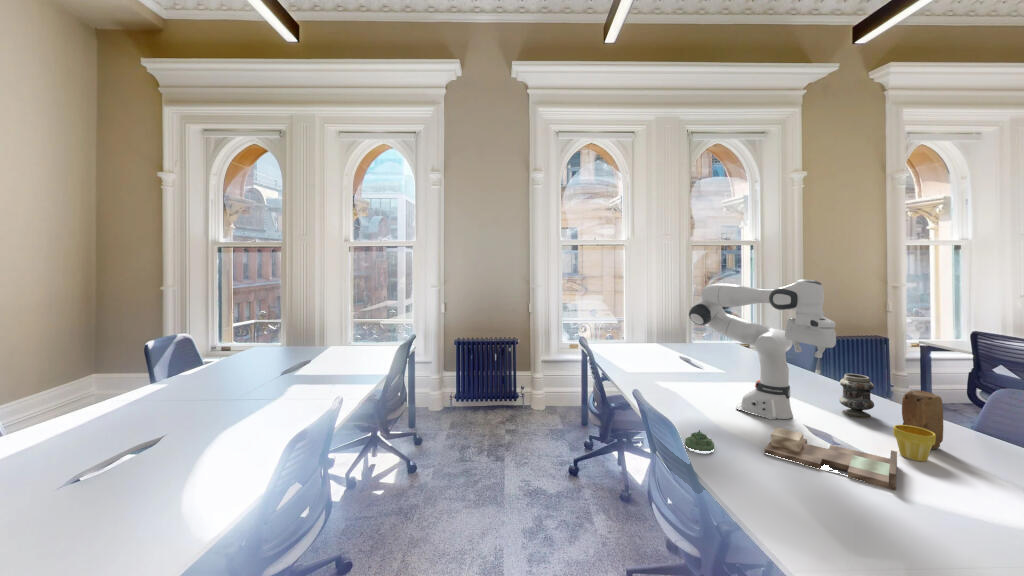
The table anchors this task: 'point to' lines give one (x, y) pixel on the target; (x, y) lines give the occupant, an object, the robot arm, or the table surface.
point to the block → (924, 413)
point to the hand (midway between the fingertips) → (808, 354)
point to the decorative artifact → (699, 442)
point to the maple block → (787, 439)
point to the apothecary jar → (856, 395)
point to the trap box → (844, 462)
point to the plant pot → (914, 441)
